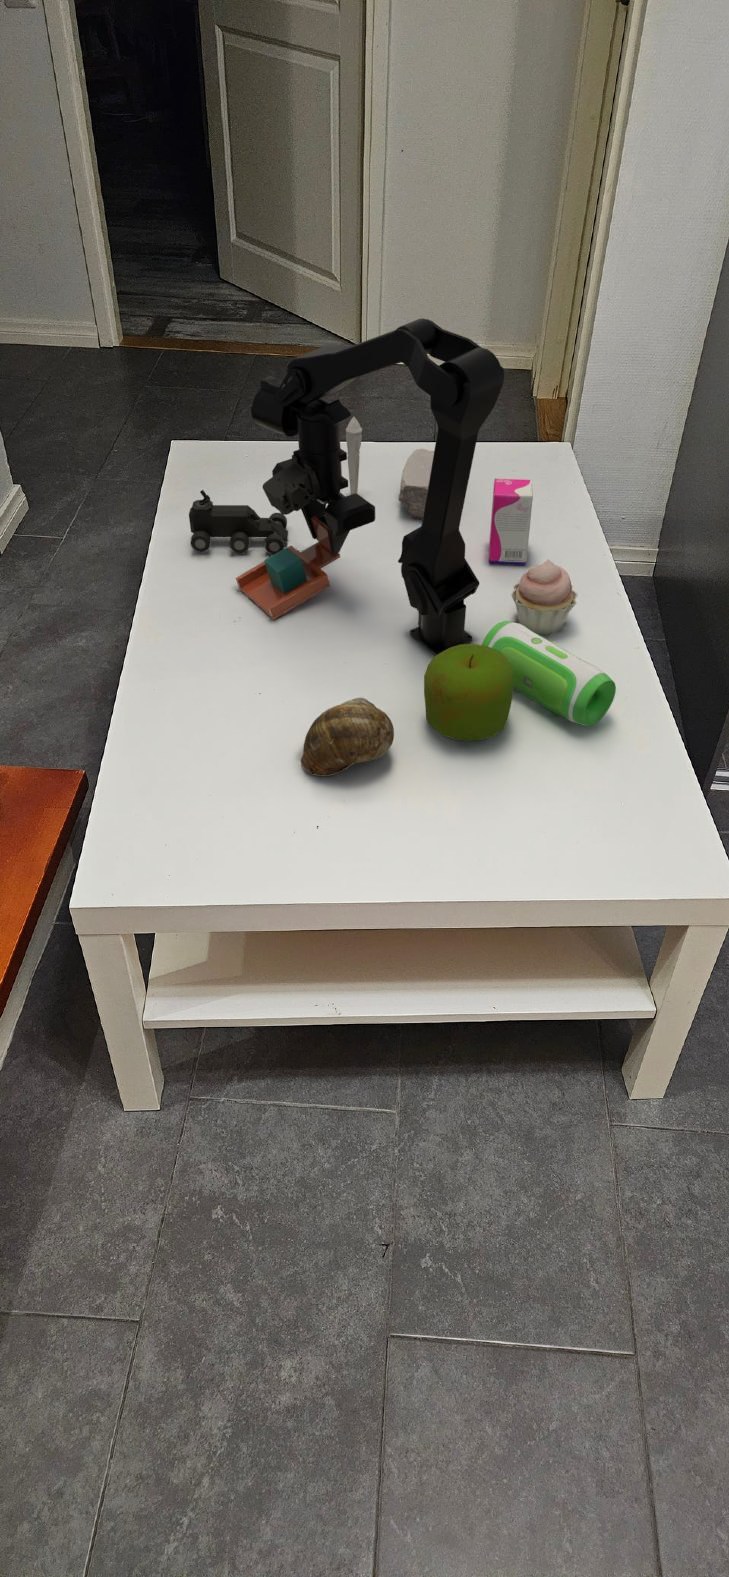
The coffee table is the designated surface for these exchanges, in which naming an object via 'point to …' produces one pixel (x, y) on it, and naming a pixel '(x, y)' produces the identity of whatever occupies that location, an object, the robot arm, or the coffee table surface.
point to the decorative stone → (416, 482)
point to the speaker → (553, 674)
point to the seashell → (346, 737)
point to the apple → (468, 692)
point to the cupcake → (544, 598)
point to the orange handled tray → (279, 603)
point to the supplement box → (510, 521)
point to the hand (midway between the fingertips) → (325, 545)
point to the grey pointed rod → (353, 452)
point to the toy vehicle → (234, 526)
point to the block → (285, 570)
